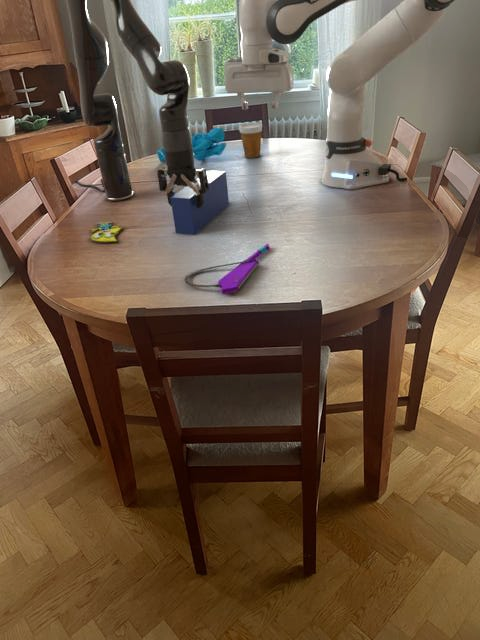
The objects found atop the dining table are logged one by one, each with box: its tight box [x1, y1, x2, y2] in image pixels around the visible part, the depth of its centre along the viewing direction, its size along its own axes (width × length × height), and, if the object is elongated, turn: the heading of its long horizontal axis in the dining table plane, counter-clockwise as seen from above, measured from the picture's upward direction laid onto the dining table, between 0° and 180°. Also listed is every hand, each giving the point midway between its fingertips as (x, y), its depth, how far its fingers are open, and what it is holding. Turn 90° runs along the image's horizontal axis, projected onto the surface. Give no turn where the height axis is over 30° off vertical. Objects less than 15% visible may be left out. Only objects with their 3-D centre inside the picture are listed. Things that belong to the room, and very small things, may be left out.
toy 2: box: [156, 127, 227, 163], centre depth 201 cm, size 17×11×30 cm
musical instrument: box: [184, 243, 270, 295], centre depth 114 cm, size 24×2×20 cm
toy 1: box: [90, 221, 124, 244], centre depth 141 cm, size 10×1×15 cm
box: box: [170, 170, 230, 235], centre depth 144 cm, size 26×6×10 cm, turn 159°
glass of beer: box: [239, 123, 263, 159], centre depth 199 cm, size 10×10×12 cm
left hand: (186, 206), depth 135 cm, fingers open, 8 cm apart
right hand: (259, 108), depth 143 cm, fingers open, 8 cm apart
